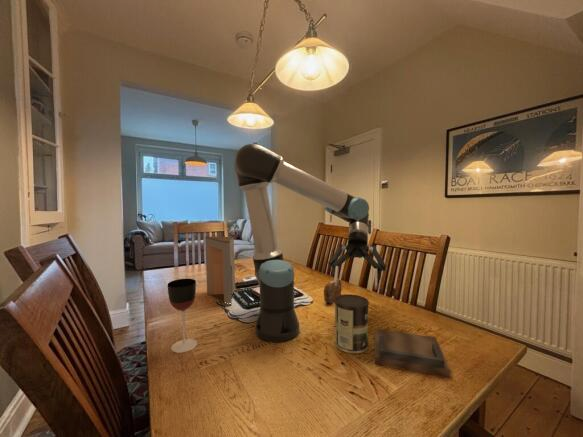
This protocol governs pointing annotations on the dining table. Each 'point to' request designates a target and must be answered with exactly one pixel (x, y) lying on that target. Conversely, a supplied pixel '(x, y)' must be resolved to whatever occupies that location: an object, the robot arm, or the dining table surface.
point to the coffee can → (351, 323)
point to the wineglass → (182, 308)
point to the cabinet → (220, 268)
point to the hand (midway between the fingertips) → (355, 285)
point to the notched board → (410, 352)
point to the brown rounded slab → (332, 291)
